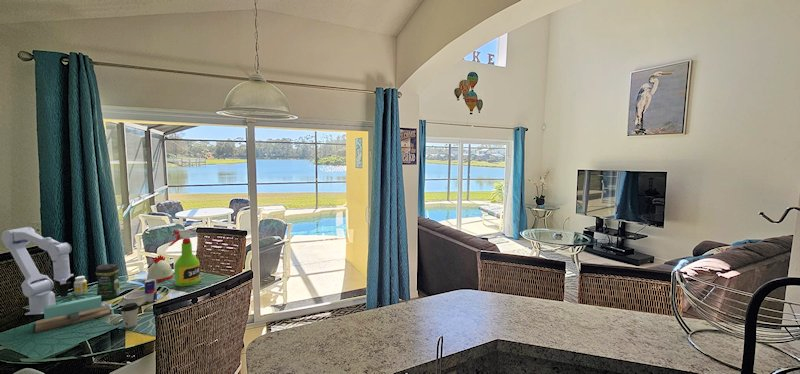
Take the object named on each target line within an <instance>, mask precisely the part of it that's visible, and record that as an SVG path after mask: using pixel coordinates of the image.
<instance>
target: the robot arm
mask: <svg viewBox="0 0 800 374" xmlns="http://www.w3.org/2000/svg"><path fill="white" fill-rule="evenodd" d="M0 238H1V241H2V243H3V244H4V246H5V248H6V249H8V250H9V252H10V254H11V256H12V258H13V259H14V261H15V262H16V264H17V266H18V267H19V271H20V272H21V274H22V275H23V277H24V280H23V282H22V283H21V285H20V287H21V289H22V290H21V291H22V294H23V295H24V297H27V298H28V304H29V311H28V312H26V313H24V316H30V315H31V316H32V315H44V307H45V306H50V305H55V304H57V302H56V293H54V292H53V289H54V287H55V288H57V291H58V293H59V296H60V298H64V297H68V294H69V288H70V286H71V283H72V281H70V279H71V277H74V273H71V268H70V265H71V264H70V255H69V254H70V253H71V252H72V250H73V249H72V245H71V244H70V243H68V242H66V241H65V242H59V241H57V240H55V239H53V238H52V237H50V236H49V237H43V236H42V235H40V234H39V233H38V232H36V231H35V229H34V228H32V227H31V226H25V227H18V228H14V229H6V230H3V232H1V236H0ZM31 242H32V243H34V244H36V245H37V247H38V248H39V249H41V250H43V251H45V252H47V253H48V255H49V256H50V259H51V261H52V269H53V280H54V281H53V280H52V279H51V278H49V275H47V274H41V273H40V271H39V270H38V267H37V266H36V264H35V262H34V260H33V259H32V256H31V255H30V253H29V251H28V250H27V248H26V246H27V245H30V243H31ZM54 282H55V283H54Z"/></svg>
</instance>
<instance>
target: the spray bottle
mask: <svg viewBox="0 0 800 374" xmlns="http://www.w3.org/2000/svg"><path fill="white" fill-rule="evenodd" d="M191 234H194V232H193V231H191V230H189V229H176V230H173V235H176V238H174V239H173V240H172V242H170V244H169V245H168V247H171V246H174V244H175V243H177V242H178V241H180V240H181V239H182V243H181V255H180V256H179V257H178V258H177V259H176V261H175V262H174V265H173V268H174V269H173V271H174V285H175V286H177V287H190V286H193V285H196V284H198V283H200V282H201V266H200V265H201V264H200V260H199V258H198V257H196V256H195V255H194V254H193V246H192V241H191Z"/></svg>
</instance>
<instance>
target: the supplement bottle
mask: <svg viewBox="0 0 800 374" xmlns="http://www.w3.org/2000/svg"><path fill="white" fill-rule="evenodd" d="M74 280H75V281H74V282H73V291H74V292H73V293H74V295H76V296H79V295H84V294H86V293H88V280H87V279H86V276H85V275H78V276H77V277H76V276H75V278H74Z"/></svg>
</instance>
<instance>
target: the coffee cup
mask: <svg viewBox="0 0 800 374" xmlns="http://www.w3.org/2000/svg"><path fill="white" fill-rule="evenodd" d="M139 308H140V305H139V304H138V303H137V302H129V303H125V304H124V305H123V306H122V307H121V308H120V309H119V310H120V312H121V317H122V322H123V325H124V328H127V329H129V328H133V327H136V325H138V318H139V317H138V316H139Z"/></svg>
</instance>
